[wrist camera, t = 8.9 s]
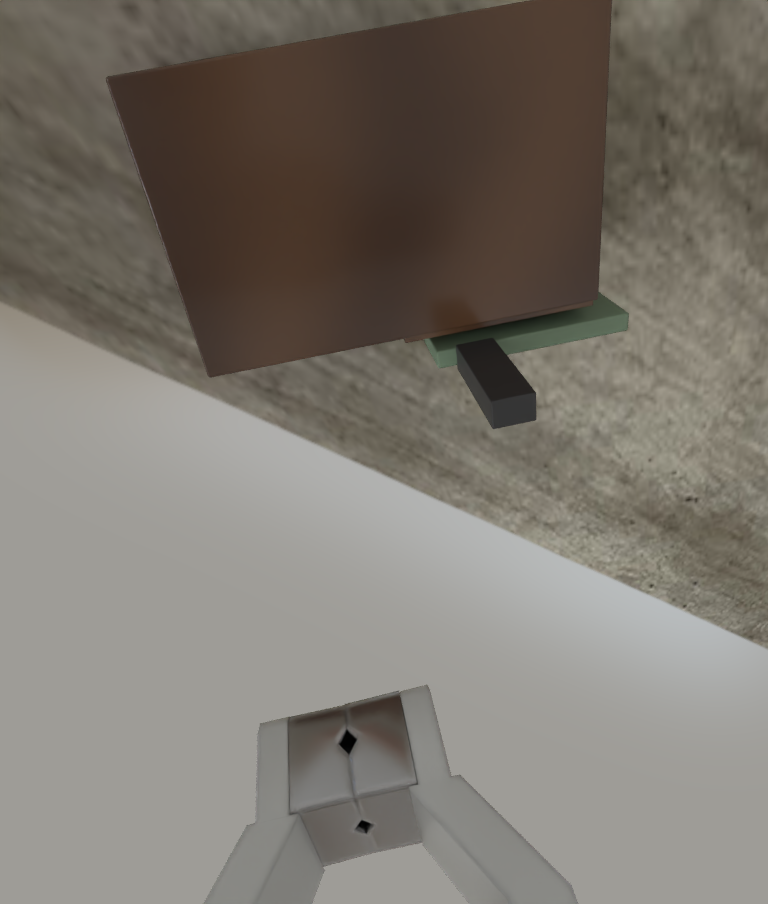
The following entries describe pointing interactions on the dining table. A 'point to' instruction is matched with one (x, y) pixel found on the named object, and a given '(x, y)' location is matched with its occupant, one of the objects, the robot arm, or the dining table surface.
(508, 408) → the door
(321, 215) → the cupboard
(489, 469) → the dining table surface
